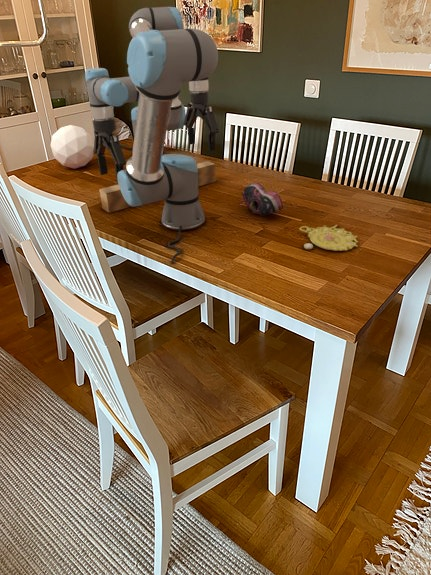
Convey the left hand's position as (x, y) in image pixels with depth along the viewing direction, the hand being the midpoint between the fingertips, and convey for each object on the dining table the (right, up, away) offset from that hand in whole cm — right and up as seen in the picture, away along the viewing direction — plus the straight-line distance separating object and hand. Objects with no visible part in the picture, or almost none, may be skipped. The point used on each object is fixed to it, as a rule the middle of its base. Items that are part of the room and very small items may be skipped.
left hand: (201, 147), depth 183 cm
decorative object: (+42, -43, -41) cm, 72 cm away
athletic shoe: (+21, -30, -20) cm, 42 cm away
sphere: (-62, +1, +32) cm, 69 cm away
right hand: (-32, -18, -19) cm, 42 cm away
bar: (-16, -20, -3) cm, 26 cm away
